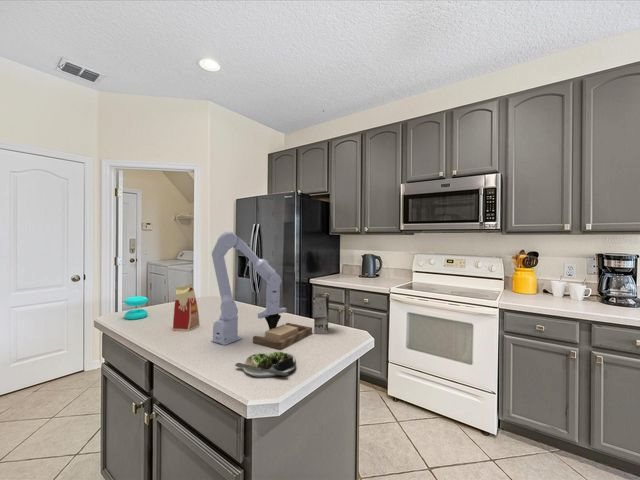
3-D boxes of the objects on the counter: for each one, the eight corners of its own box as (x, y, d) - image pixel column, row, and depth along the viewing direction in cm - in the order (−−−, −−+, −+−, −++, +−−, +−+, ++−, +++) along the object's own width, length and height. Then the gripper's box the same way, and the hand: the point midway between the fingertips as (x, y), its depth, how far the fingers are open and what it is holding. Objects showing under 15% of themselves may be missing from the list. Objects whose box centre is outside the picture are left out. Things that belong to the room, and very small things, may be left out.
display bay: (279, 350, 112) (279, 343, 112) (252, 342, 119) (252, 336, 119) (312, 333, 132) (312, 327, 132) (287, 328, 139) (287, 322, 139)
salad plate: (230, 382, 88) (230, 366, 88) (240, 357, 105) (240, 344, 105) (295, 380, 90) (296, 365, 89) (295, 356, 107) (295, 343, 107)
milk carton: (199, 325, 140) (200, 282, 140) (189, 331, 131) (189, 286, 131) (181, 324, 141) (181, 282, 141) (169, 330, 132) (170, 285, 132)
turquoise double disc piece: (120, 298, 150) (141, 295, 158) (120, 318, 150) (141, 313, 158) (130, 300, 144) (151, 297, 153) (130, 321, 145) (151, 316, 153)
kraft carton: (280, 345, 118) (280, 335, 118) (265, 341, 122) (265, 331, 122) (298, 336, 128) (298, 327, 128) (283, 333, 132) (283, 324, 132)
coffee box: (328, 334, 131) (329, 297, 131) (313, 333, 131) (314, 297, 131) (328, 327, 140) (328, 293, 140) (314, 327, 140) (315, 293, 140)
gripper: (279, 296, 136) (278, 326, 137) (253, 301, 125) (252, 333, 125) (289, 298, 132) (289, 329, 132) (264, 304, 121) (263, 337, 121)
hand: (272, 331), depth 128 cm, fingers closed
